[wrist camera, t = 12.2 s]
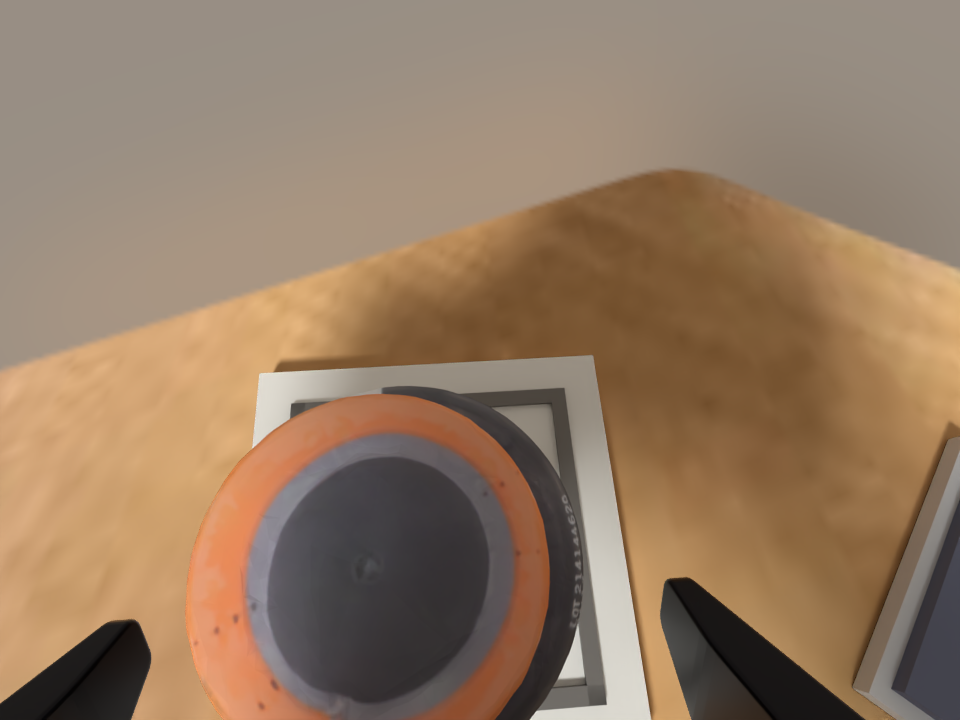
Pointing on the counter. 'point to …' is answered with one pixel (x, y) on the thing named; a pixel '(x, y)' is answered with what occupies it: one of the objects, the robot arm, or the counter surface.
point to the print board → (583, 472)
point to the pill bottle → (386, 567)
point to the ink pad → (922, 613)
